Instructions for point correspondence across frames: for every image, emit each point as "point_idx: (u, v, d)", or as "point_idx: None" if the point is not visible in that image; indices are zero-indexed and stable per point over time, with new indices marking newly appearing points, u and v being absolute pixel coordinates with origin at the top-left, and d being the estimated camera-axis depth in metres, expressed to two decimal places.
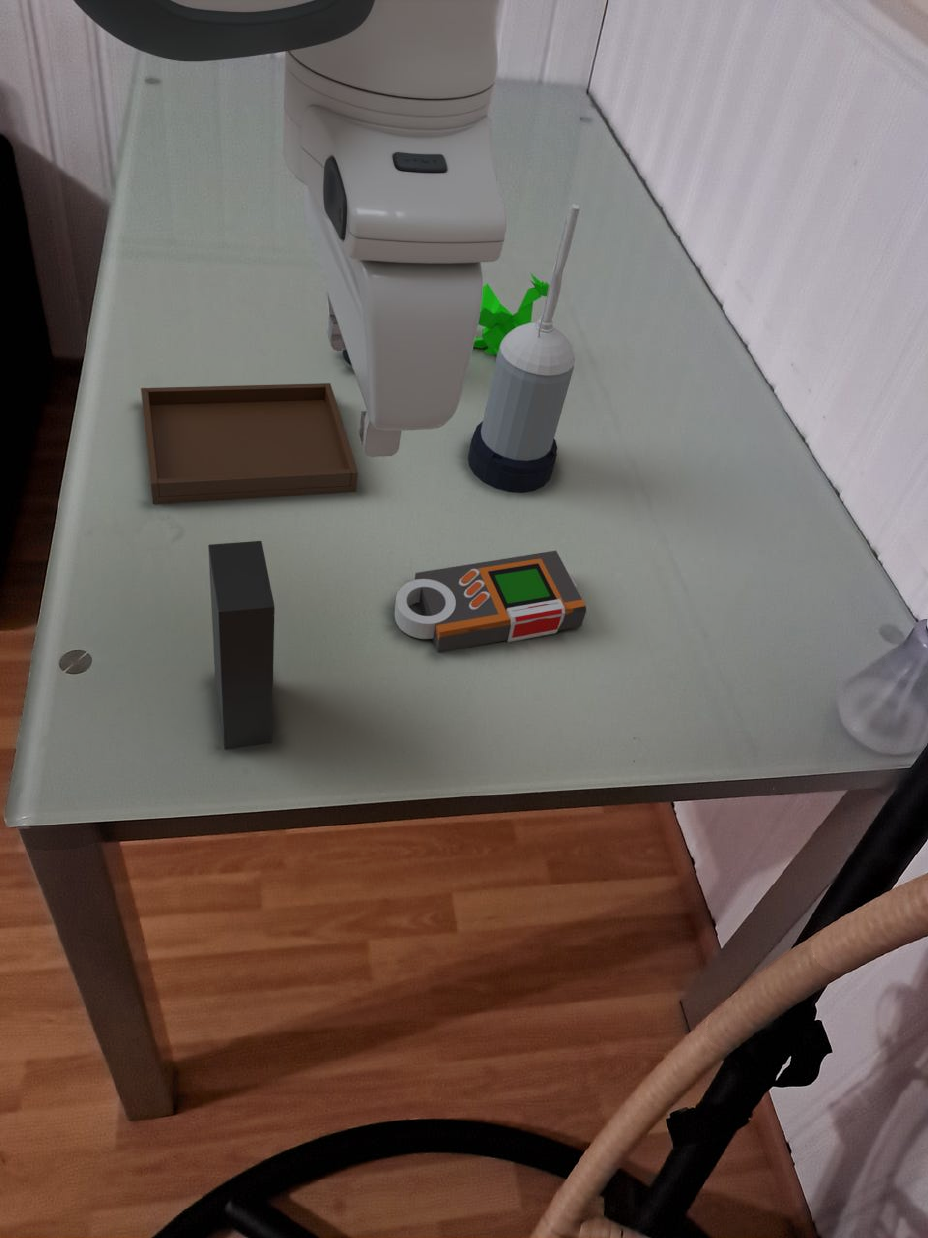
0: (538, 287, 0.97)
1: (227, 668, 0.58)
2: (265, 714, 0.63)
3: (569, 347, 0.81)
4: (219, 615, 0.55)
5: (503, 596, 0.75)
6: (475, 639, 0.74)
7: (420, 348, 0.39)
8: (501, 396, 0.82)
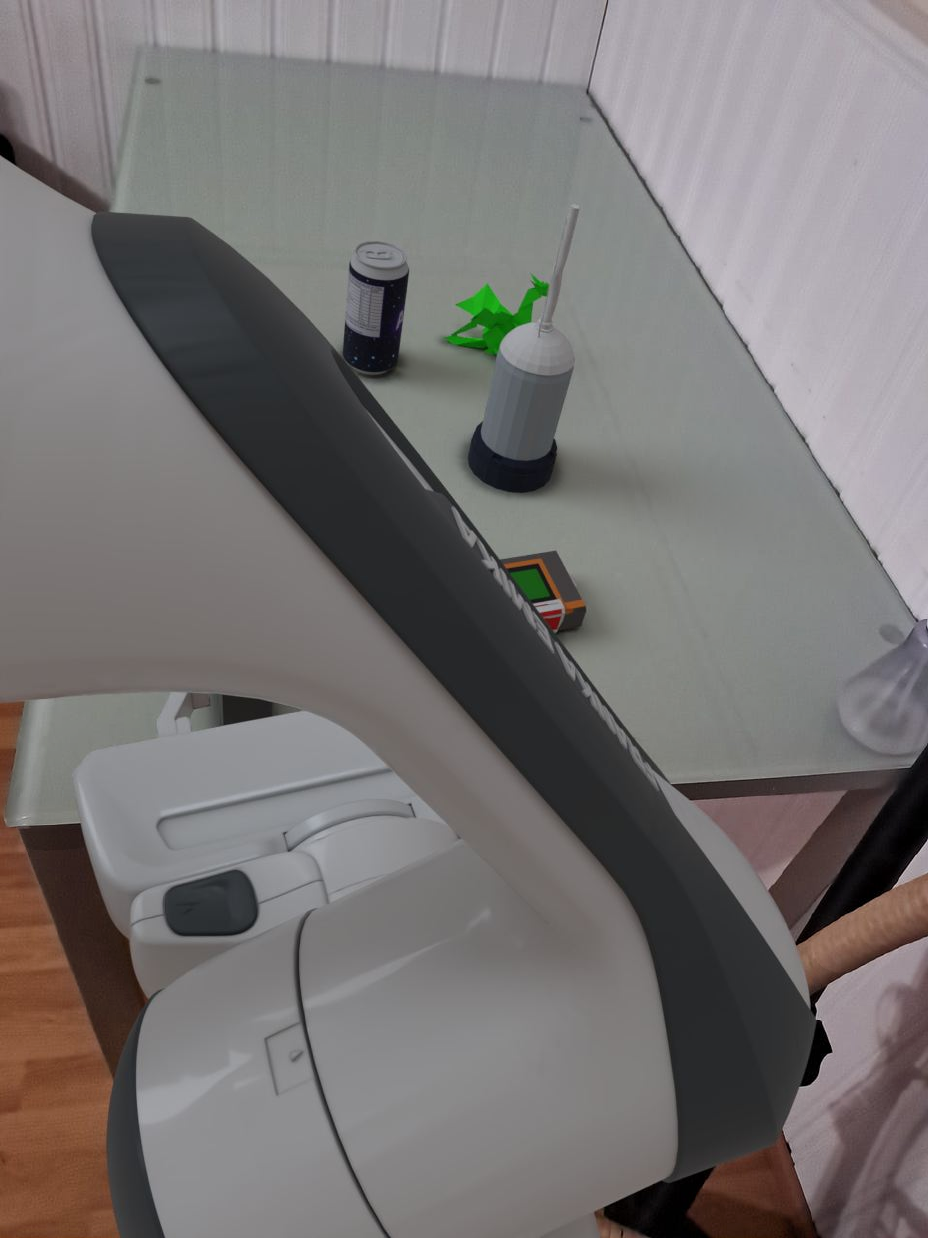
0: (538, 287, 0.97)
1: None
2: (265, 714, 0.63)
3: (569, 347, 0.81)
4: None
5: None
6: None
7: (92, 866, 0.37)
8: (501, 396, 0.82)
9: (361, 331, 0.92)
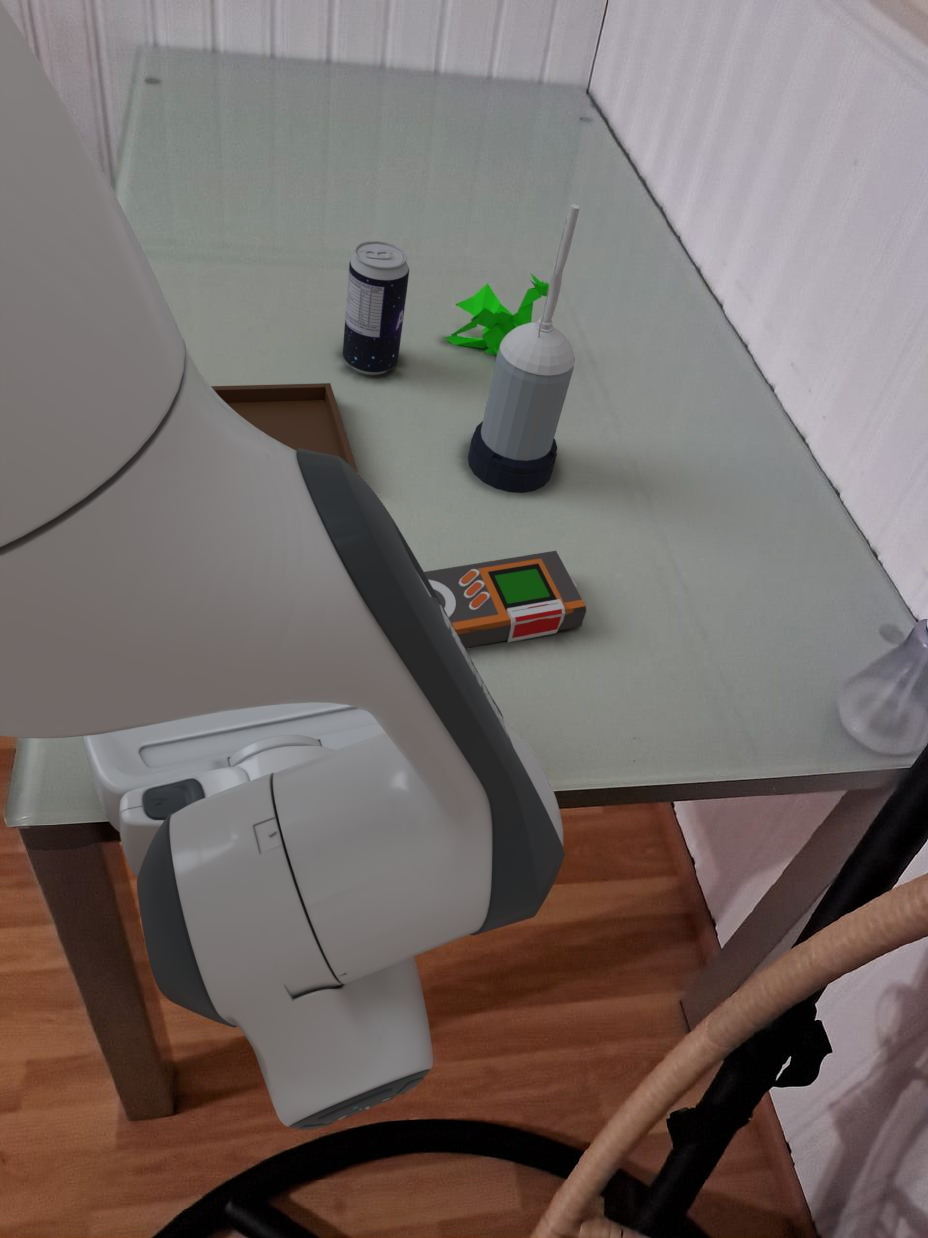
0: (538, 287, 0.97)
1: None
2: None
3: (569, 347, 0.81)
4: None
5: (503, 596, 0.75)
6: (475, 639, 0.74)
7: (94, 780, 0.53)
8: (501, 396, 0.82)
9: (361, 331, 0.92)
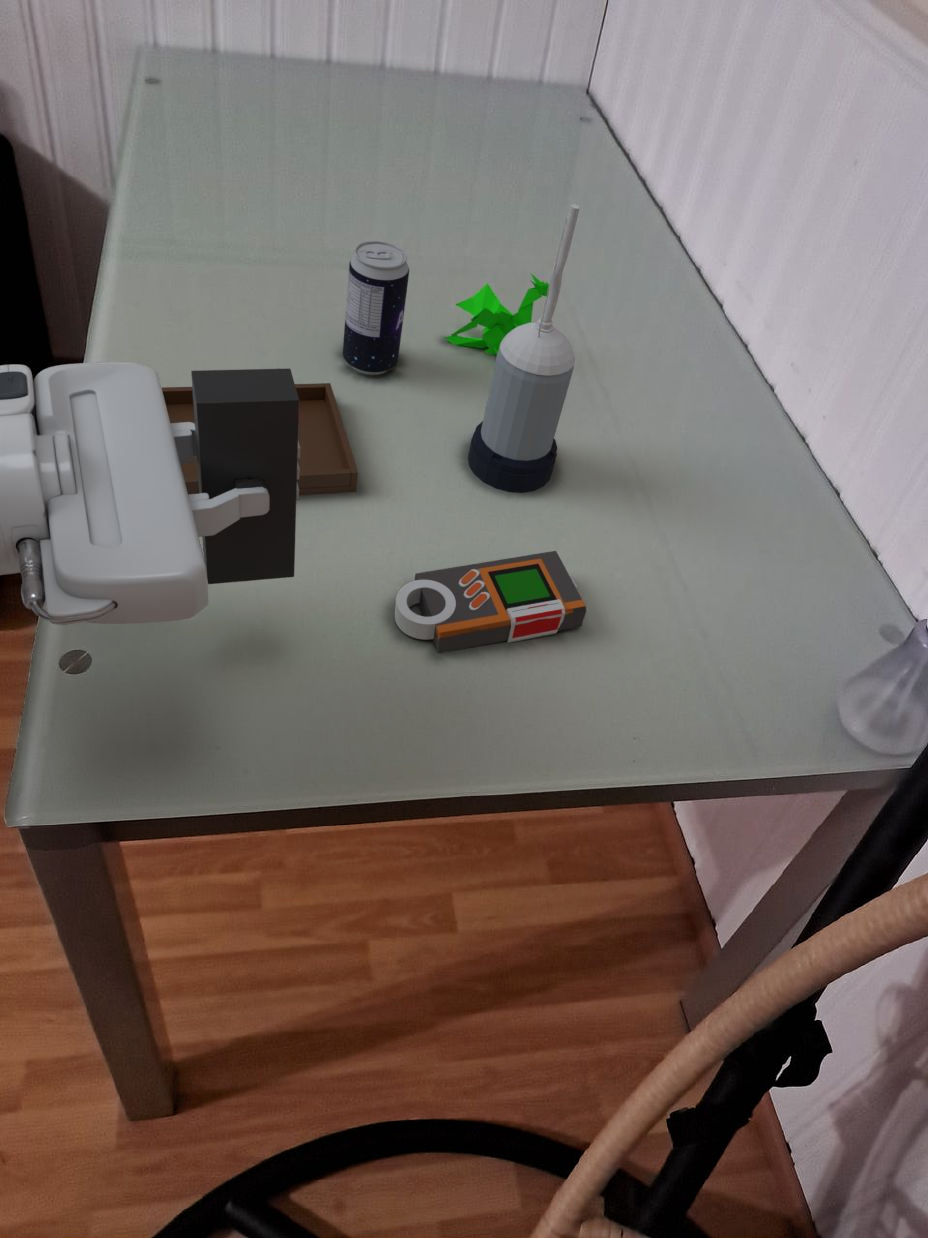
0: (538, 287, 0.97)
1: (196, 449, 0.57)
2: (204, 539, 0.60)
3: (569, 347, 0.81)
4: None
5: (503, 596, 0.75)
6: (475, 640, 0.74)
7: None
8: (501, 396, 0.82)
9: (361, 331, 0.92)
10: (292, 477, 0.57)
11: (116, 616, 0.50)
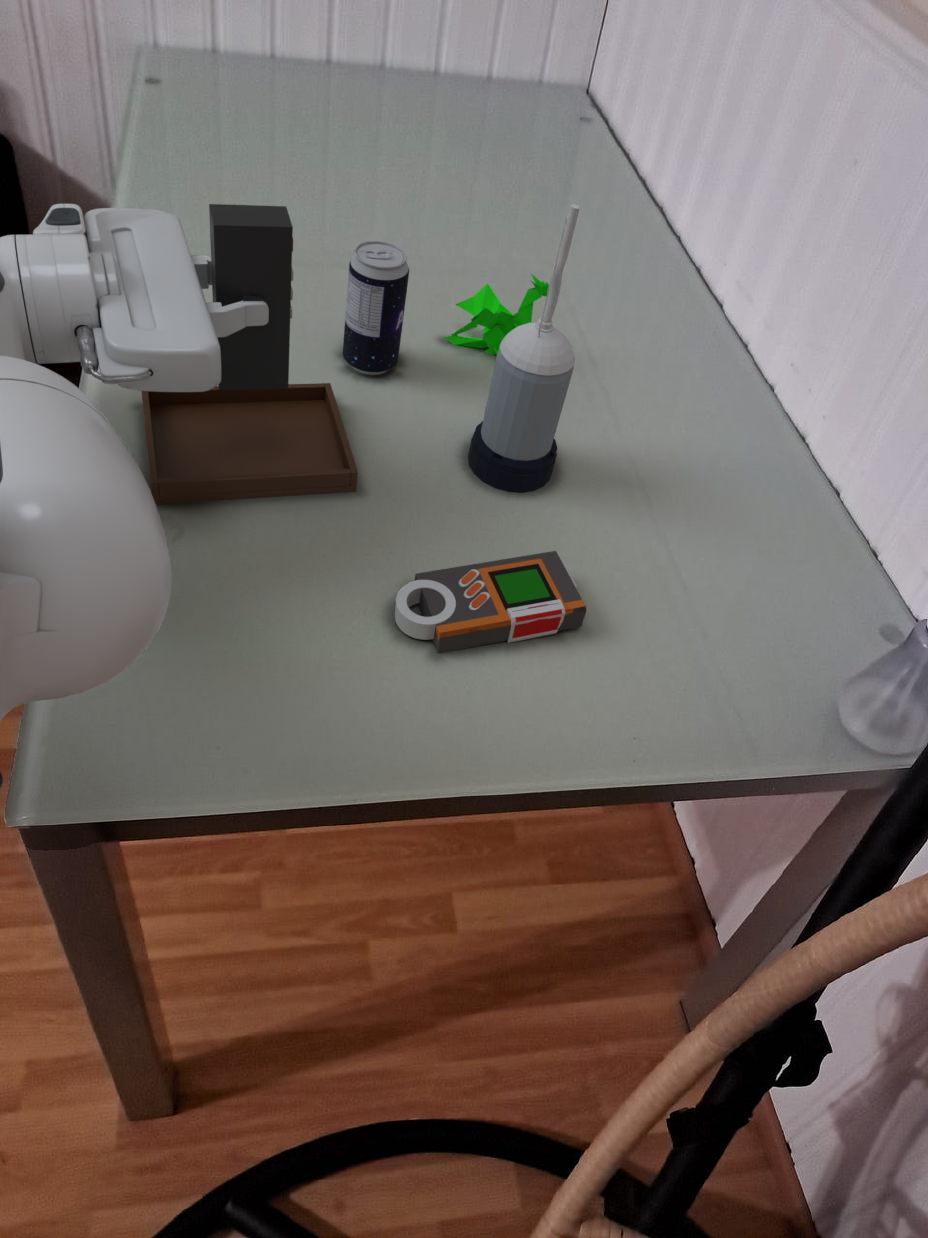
0: (538, 287, 0.97)
1: (212, 272, 0.73)
2: None
3: (569, 347, 0.81)
4: (209, 207, 0.70)
5: (503, 597, 0.75)
6: (475, 640, 0.74)
7: None
8: (501, 396, 0.82)
9: (361, 332, 0.92)
10: (287, 296, 0.73)
11: (151, 383, 0.66)
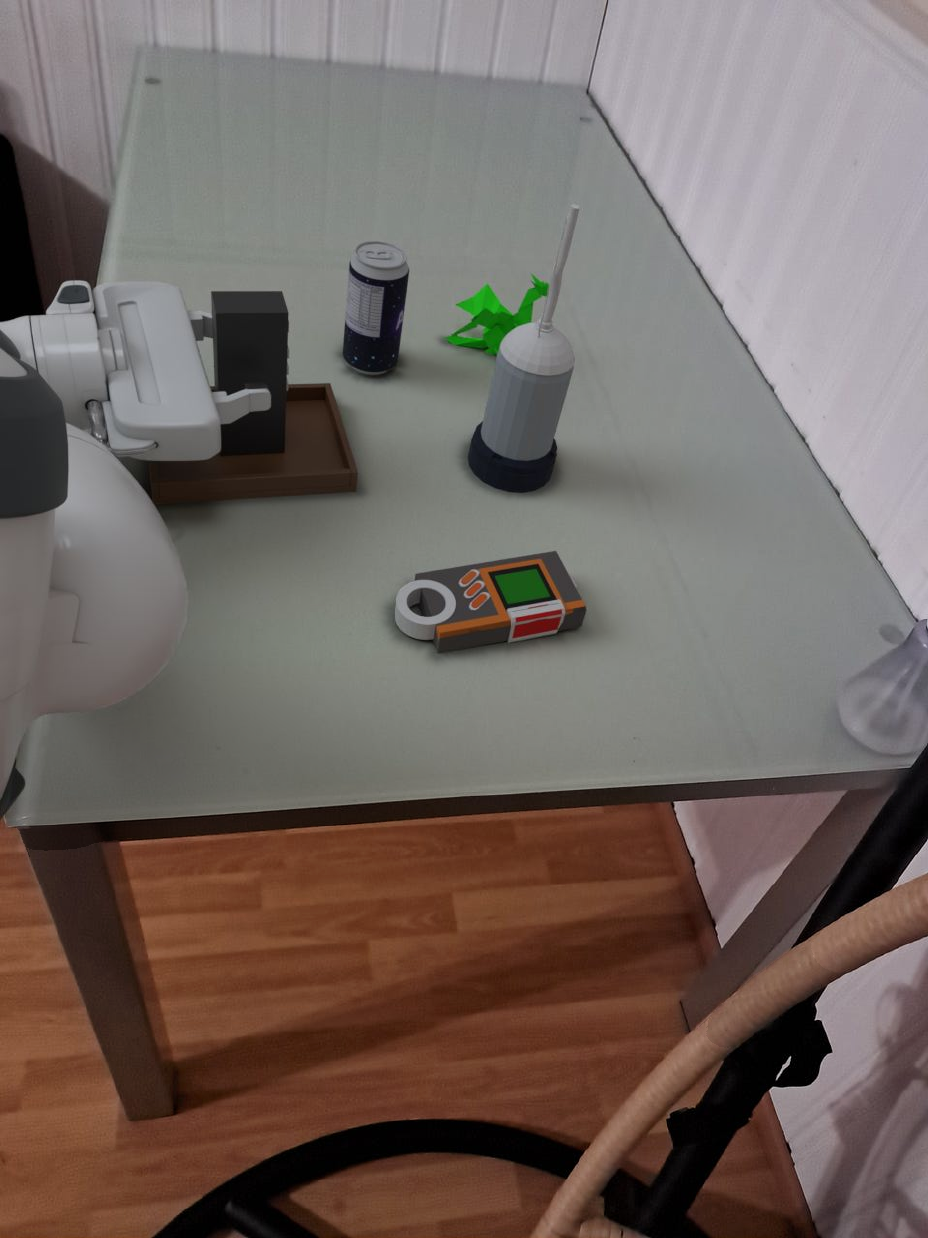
0: (538, 287, 0.97)
1: (213, 351, 0.79)
2: None
3: (569, 347, 0.81)
4: (211, 294, 0.75)
5: (503, 597, 0.75)
6: (475, 640, 0.74)
7: None
8: (501, 396, 0.82)
9: (361, 332, 0.92)
10: (283, 372, 0.79)
11: (157, 454, 0.71)
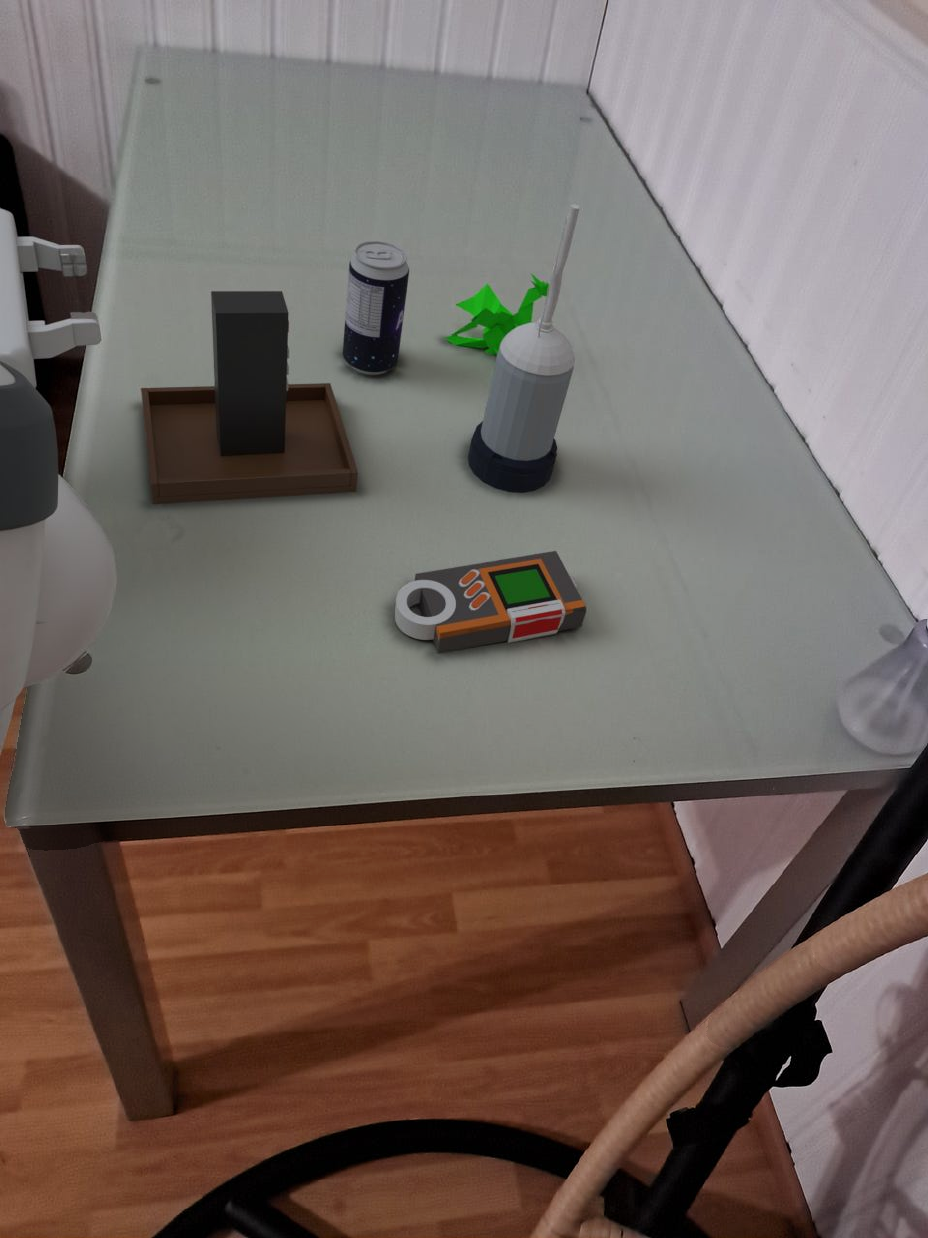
0: (538, 287, 0.97)
1: (213, 351, 0.79)
2: (218, 420, 0.81)
3: (569, 347, 0.81)
4: (211, 294, 0.75)
5: (503, 597, 0.75)
6: (475, 640, 0.74)
7: None
8: (501, 396, 0.82)
9: (361, 332, 0.92)
10: (283, 372, 0.79)
11: None
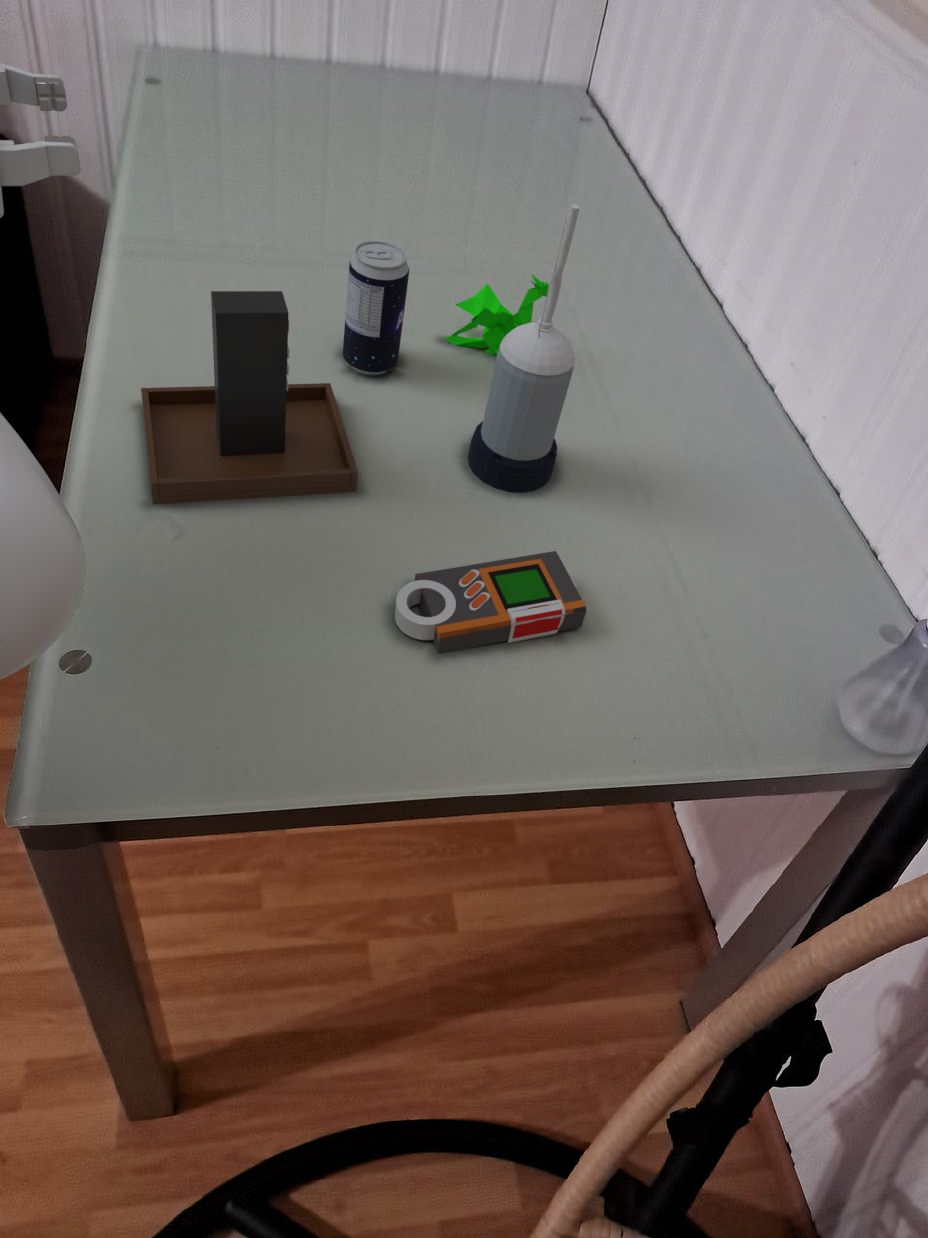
0: (538, 287, 0.97)
1: (213, 351, 0.79)
2: (218, 420, 0.81)
3: (569, 347, 0.81)
4: (211, 294, 0.75)
5: (503, 597, 0.75)
6: (475, 640, 0.74)
7: None
8: (501, 396, 0.82)
9: (361, 332, 0.92)
10: (283, 372, 0.79)
11: None
